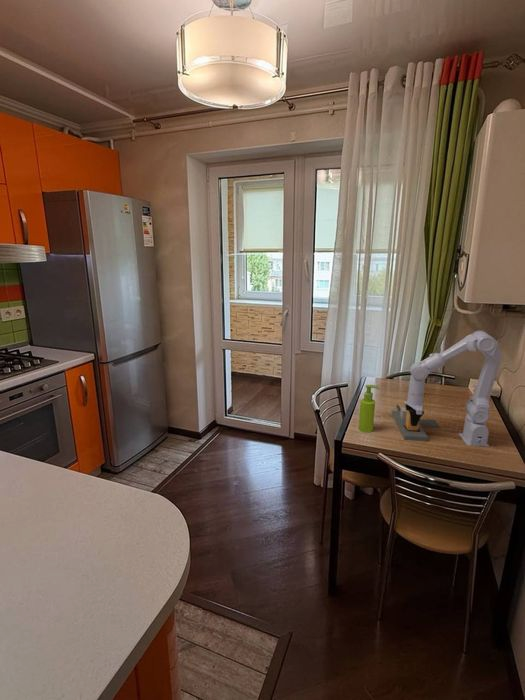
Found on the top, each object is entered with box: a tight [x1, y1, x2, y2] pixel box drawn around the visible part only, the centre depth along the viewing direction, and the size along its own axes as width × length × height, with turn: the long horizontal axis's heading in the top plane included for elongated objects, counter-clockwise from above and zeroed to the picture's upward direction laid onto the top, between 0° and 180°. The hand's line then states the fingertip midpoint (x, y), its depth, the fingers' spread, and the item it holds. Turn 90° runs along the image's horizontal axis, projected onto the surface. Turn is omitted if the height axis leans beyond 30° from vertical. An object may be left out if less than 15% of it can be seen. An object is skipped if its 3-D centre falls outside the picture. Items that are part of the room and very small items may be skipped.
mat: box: [419, 418, 442, 429], centre depth 162 cm, size 8×8×1 cm
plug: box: [405, 410, 419, 431], centre depth 153 cm, size 4×4×8 cm
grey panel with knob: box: [391, 404, 429, 442], centre depth 162 cm, size 32×9×7 cm, turn 173°
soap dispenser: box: [358, 384, 380, 434], centre depth 155 cm, size 6×7×20 cm
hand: (412, 423), depth 154 cm, fingers closed on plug, 4 cm apart
